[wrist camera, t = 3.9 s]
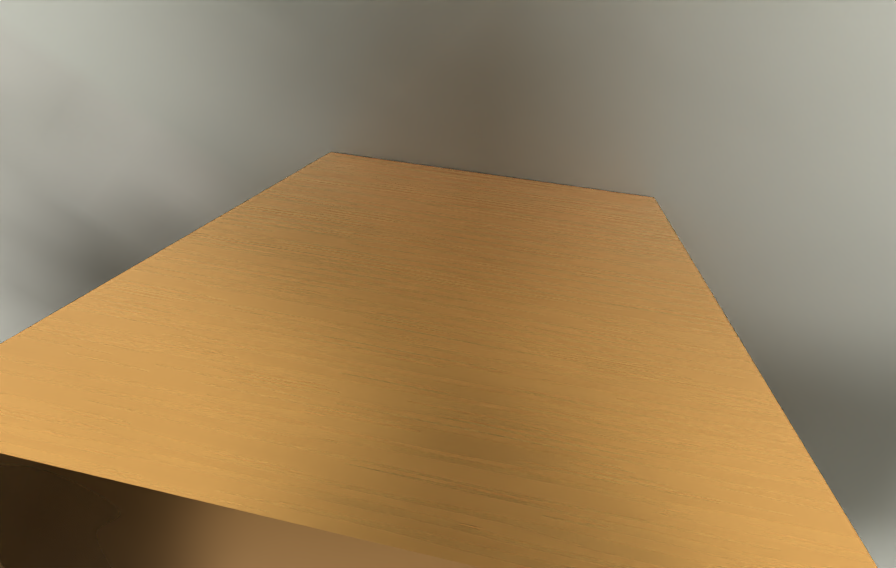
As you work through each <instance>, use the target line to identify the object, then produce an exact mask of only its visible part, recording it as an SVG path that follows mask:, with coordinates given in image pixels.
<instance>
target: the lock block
mask: <svg viewBox="0 0 896 568" xmlns="http://www.w3.org/2000/svg"><path fill="white" fill-rule="evenodd" d="M0 568H877V566H876V564H875V563H874V561H873V559H872V558H871V556H870V554H869V553H868V551H867V549H866V548H865V546H864V544H863V543H862V541H861V539H860V538H859V536H858V534H857V533H856V531H855V530H854V528H853V526H852V525H851V523H850V521H849V520H848V518H847V516H846V515H845V513H844V511H843V510H842V508H841V506H840V505H839V503H838V501H837V500H836V498H835V496H834V495H833V493H832V491H831V490H830V488H829V486H828V485H827V483H826V481H825V480H824V478H823V477H822V475H821V473H820V472H819V470H818V468H817V467H816V465H815V463H814V462H813V460H812V458H811V457H810V455H809V453H808V452H807V450H806V448H805V447H804V445H803V443H802V442H801V440H800V438H799V437H798V435H797V433H796V432H795V430H794V428H793V427H792V425H791V423H790V422H789V420H788V419H787V417H786V415H785V414H784V412H783V410H782V409H781V407H780V405H779V404H778V402H777V400H776V399H775V397H774V395H773V394H772V392H771V390H770V389H769V387H768V385H767V384H766V382H765V380H764V379H763V377H762V375H761V374H760V372H759V370H758V369H757V367H756V366H755V364H754V362H753V361H752V359H751V357H750V356H749V354H748V352H747V351H746V349H745V347H744V346H743V344H742V342H741V341H740V339H739V337H738V336H737V334H736V332H735V331H734V329H733V327H732V326H731V324H730V322H729V321H728V319H727V317H726V316H725V314H724V312H723V311H722V309H721V308H720V306H719V304H718V303H717V301H716V299H715V298H714V296H713V294H712V293H711V291H710V289H709V288H708V286H707V284H706V283H705V281H704V279H703V278H702V276H701V274H700V273H699V271H698V269H697V268H696V266H695V264H694V263H693V261H692V259H691V258H690V256H689V255H688V253H687V251H686V250H685V248H684V246H683V245H682V243H681V241H680V240H679V238H678V236H677V235H676V233H675V231H674V230H673V228H672V226H671V225H670V223H669V221H668V220H667V218H666V216H665V215H664V213H663V211H662V210H661V208H660V206H659V205H658V203H657V201H656V200H655V198H654V197H647V196H639V195H632V194H625V193H618V192H611V191H604V190H597V189H590V188H583V187H575V186H568V185H561V184H554V183H547V182H540V181H533V180H526V179H518V178H511V177H504V176H497V175H490V174H483V173H476V172H469V171H461V170H454V169H447V168H440V167H433V166H426V165H419V164H412V163H405V162H397V161H390V160H383V159H376V158H369V157H362V156H355V155H348V154H340V153H333V152H330V153H328V154H326V155H325V156H323V157H321V158H320V159H318V160H316V161H314V162H313V163H311V164H309V165H307V166H306V167H304V168H302V169H301V170H299V171H297V172H295V173H294V174H292V175H290V176H288V177H287V178H285V179H283V180H282V181H280V182H278V183H276V184H275V185H273V186H271V187H270V188H268V189H266V190H264V191H263V192H261V193H259V194H257V195H256V196H254V197H252V198H251V199H249V200H247V201H245V202H244V203H242V204H240V205H239V206H237V207H235V208H233V209H232V210H230V211H228V212H226V213H225V214H223V215H221V216H220V217H218V218H216V219H214V220H213V221H211V222H209V223H208V224H206V225H204V226H202V227H201V228H199V229H197V230H195V231H194V232H192V233H190V234H189V235H187V236H185V237H183V238H182V239H180V240H178V241H177V242H175V243H173V244H171V245H170V246H168V247H166V248H164V249H163V250H161V251H159V252H158V253H156V254H154V255H152V256H151V257H149V258H147V259H146V260H144V261H142V262H140V263H139V264H137V265H135V266H133V267H132V268H130V269H128V270H127V271H125V272H123V273H121V274H120V275H118V276H116V277H115V278H113V279H111V280H109V281H108V282H106V283H104V284H102V285H101V286H99V287H97V288H96V289H94V290H92V291H90V292H89V293H87V294H85V295H84V296H82V297H80V298H78V299H77V300H75V301H73V302H71V303H70V304H68V305H66V306H65V307H63V308H61V309H59V310H58V311H56V312H54V313H53V314H51V315H49V316H47V317H46V318H44V319H42V320H40V321H39V322H37V323H35V324H34V325H32V326H30V327H28V328H27V329H25V330H23V331H22V332H20V333H18V334H16V335H15V336H13V337H11V338H9V339H8V340H6V341H4V342H3V343H1V344H0Z"/></svg>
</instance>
